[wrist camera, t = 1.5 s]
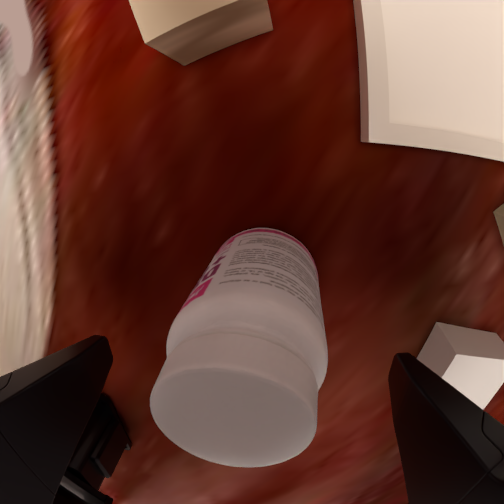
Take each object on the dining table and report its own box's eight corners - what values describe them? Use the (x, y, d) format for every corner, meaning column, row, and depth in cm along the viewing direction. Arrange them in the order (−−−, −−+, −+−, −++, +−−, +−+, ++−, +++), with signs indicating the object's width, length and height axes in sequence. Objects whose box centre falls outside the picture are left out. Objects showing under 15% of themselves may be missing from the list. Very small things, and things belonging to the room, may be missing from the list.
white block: (403, 376, 16) (416, 413, 13) (435, 320, 14) (456, 354, 11) (463, 382, 15) (479, 413, 13) (495, 331, 14) (517, 361, 11)
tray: (360, 141, 12) (368, 142, 10) (339, -80, 7) (341, -96, 6) (554, 174, 10) (570, 179, 9) (530, -17, 6) (542, -23, 5)
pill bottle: (216, 217, 14) (122, 325, 6) (326, 235, 13) (367, 368, 5) (208, 311, 15) (144, 452, 7) (305, 328, 15) (306, 483, 7)
